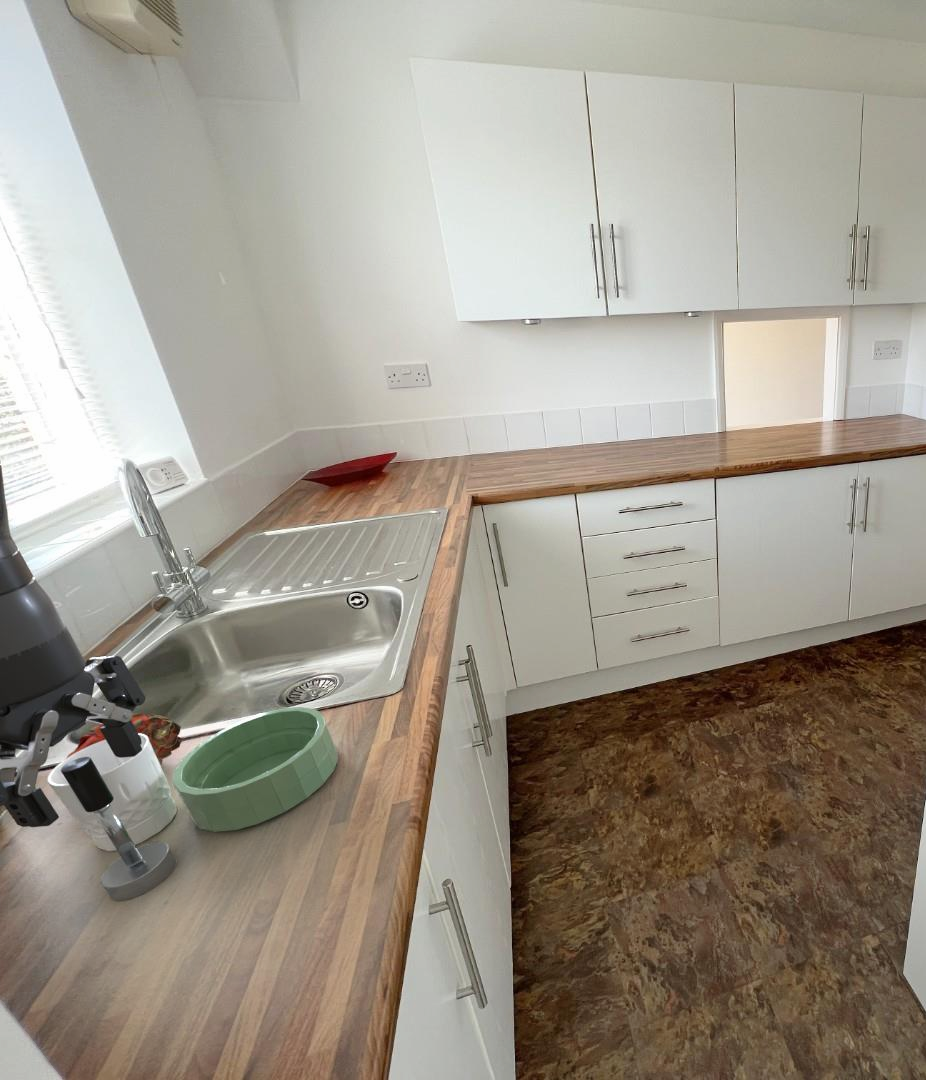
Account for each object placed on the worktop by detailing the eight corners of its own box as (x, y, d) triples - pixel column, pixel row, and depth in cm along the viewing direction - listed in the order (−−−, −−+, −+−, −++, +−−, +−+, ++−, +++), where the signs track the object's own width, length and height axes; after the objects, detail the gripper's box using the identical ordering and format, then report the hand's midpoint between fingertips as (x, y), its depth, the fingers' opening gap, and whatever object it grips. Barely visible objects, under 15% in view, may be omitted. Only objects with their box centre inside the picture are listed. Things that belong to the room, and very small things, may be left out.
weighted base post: (94, 903, 58) (17, 787, 52) (140, 857, 63) (74, 746, 57) (147, 899, 58) (76, 782, 52) (189, 853, 63) (128, 742, 57)
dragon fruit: (206, 760, 78) (90, 816, 73) (189, 708, 81) (76, 757, 76) (171, 744, 72) (40, 804, 66) (154, 687, 75) (27, 740, 69)
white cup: (90, 830, 66) (47, 761, 63) (179, 789, 72) (145, 723, 68) (92, 870, 61) (46, 798, 58) (188, 822, 67) (151, 754, 63)
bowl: (159, 840, 64) (136, 799, 62) (251, 748, 78) (235, 711, 76) (293, 830, 65) (274, 788, 63) (361, 739, 78) (348, 703, 76)
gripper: (42, 604, 56) (118, 739, 62) (-157, 696, 43) (-37, 855, 49) (121, 598, 56) (189, 733, 62) (-54, 687, 43) (54, 847, 49)
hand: (90, 786), depth 56 cm, fingers open, 8 cm apart
